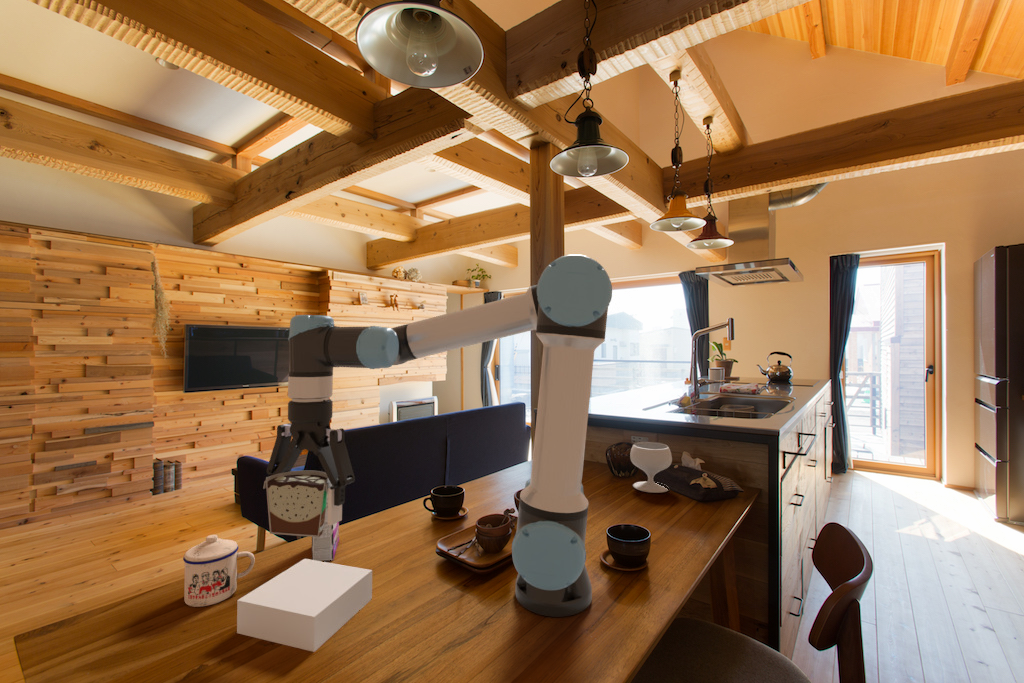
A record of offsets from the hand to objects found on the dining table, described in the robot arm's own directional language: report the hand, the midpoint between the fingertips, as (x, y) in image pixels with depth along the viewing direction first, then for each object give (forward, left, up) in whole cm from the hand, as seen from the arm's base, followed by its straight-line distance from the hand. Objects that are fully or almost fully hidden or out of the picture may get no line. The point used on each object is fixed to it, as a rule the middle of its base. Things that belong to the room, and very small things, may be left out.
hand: (309, 517), depth 84 cm
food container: (+1, 0, -2) cm, 3 cm away
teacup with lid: (+22, +1, -18) cm, 28 cm away
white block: (0, 0, -18) cm, 18 cm away
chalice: (-53, -101, -18) cm, 116 cm away
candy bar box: (+16, -21, -18) cm, 32 cm away
